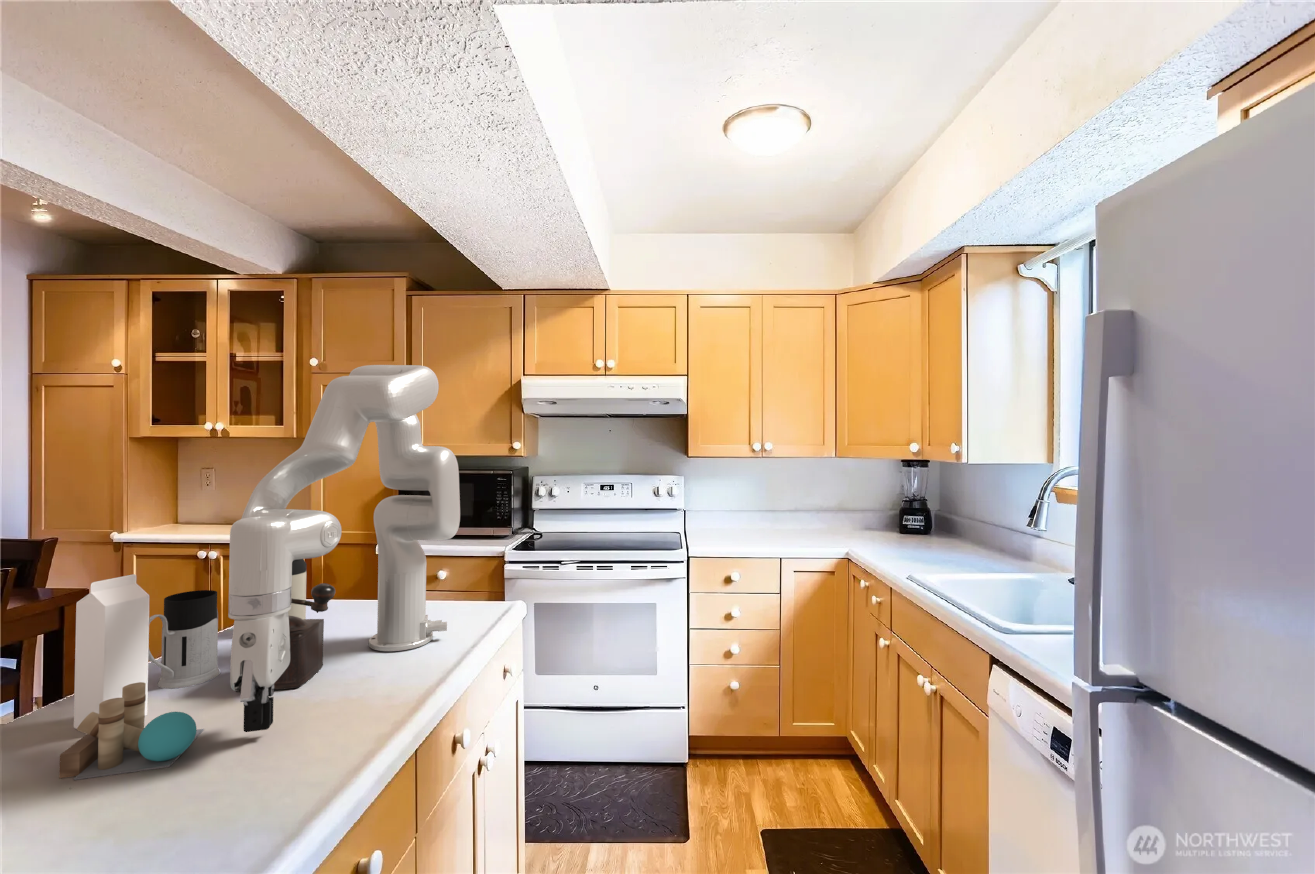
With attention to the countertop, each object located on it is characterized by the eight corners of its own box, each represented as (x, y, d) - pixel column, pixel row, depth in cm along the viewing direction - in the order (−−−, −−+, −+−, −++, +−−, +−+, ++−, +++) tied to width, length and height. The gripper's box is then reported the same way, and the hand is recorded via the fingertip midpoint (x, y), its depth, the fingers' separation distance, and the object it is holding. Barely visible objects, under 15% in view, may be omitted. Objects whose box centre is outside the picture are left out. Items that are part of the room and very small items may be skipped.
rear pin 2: (147, 740, 81) (149, 681, 81) (138, 749, 79) (140, 688, 79) (126, 743, 80) (128, 683, 80) (115, 752, 78) (117, 690, 78)
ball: (132, 730, 77) (178, 742, 81) (120, 765, 72) (170, 776, 76) (165, 696, 78) (210, 709, 81) (156, 729, 73) (203, 741, 76)
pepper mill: (230, 694, 96) (232, 588, 96) (265, 668, 107) (267, 573, 107) (328, 689, 98) (330, 586, 99) (352, 664, 109) (354, 571, 110)
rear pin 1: (127, 759, 76) (129, 696, 76) (116, 769, 74) (117, 704, 74) (104, 762, 76) (105, 698, 76) (92, 772, 73) (94, 707, 73)
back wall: (120, 740, 81) (121, 719, 81) (79, 775, 73) (79, 752, 73) (103, 742, 81) (103, 721, 81) (59, 778, 72) (59, 754, 72)
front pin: (161, 731, 80) (97, 708, 77) (152, 740, 77) (85, 716, 75) (150, 748, 79) (85, 725, 77) (140, 757, 77) (72, 734, 75)
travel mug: (283, 624, 133) (284, 547, 133) (313, 625, 132) (314, 548, 132) (254, 635, 125) (255, 554, 125) (286, 637, 124) (288, 555, 124)
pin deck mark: (203, 729, 84) (203, 728, 84) (169, 766, 75) (169, 765, 75) (120, 740, 81) (120, 738, 81) (73, 779, 72) (73, 778, 72)
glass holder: (231, 668, 107) (233, 589, 107) (169, 702, 93) (171, 611, 93) (184, 668, 107) (185, 589, 107) (114, 703, 92) (116, 611, 93)
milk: (73, 729, 84) (74, 581, 84) (120, 710, 90) (121, 572, 90) (102, 734, 83) (104, 584, 83) (149, 714, 89) (150, 574, 89)
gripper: (273, 614, 76) (270, 750, 76) (304, 587, 91) (302, 702, 90) (207, 619, 74) (204, 759, 74) (249, 590, 88) (247, 708, 88)
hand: (258, 727), depth 82 cm, fingers closed
